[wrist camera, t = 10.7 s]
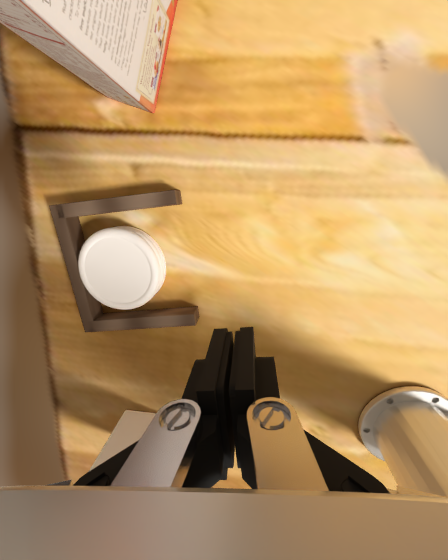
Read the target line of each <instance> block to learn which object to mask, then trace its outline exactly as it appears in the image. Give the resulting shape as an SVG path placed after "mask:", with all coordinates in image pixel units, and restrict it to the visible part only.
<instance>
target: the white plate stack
mask: <svg viewBox="0 0 448 560" xmlns="http://www.w3.org/2000/svg"><path fill="white" fill-rule="evenodd" d="M78 267H79V273H80V277H81V280H82V282H83V284H84V286H85V287H86V289H87V290H88V292H89V293H90V294H91V295H92V296H93V297H94V298H95V299H96V300H98V301H99V302H101V303H102V304H104V305H106V306H109V307H111V308H115V309H123V310H126V309H133V308H137V307H140V306H142V305H144V304H145V303H147V302H148V301H149V300H150V299H151V298H152V297H153V296H154V295H155V294H156V293H157V292H158V291H159V290H160V288H161V287H162V285H163V282H164V280H165V276H166V262H165V258H164V255H163V252H162V250H161V248H160V247H159V245H158V244H157V242H156V241H155V240H154V239H153V238H152V237H151V236H150V235H148V234H147V233H145V232H144V231H142V230H140V229H137V228H134V227H130V226H116V227H111V228H106V229H102V230H100V231H97V232H96V233H94V234H93V235H91V236H90V237H89V238H88V239H87V240H86V241H85V243H84V244H83V246H82V248H81V250H80V254H79V260H78Z"/></svg>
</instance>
